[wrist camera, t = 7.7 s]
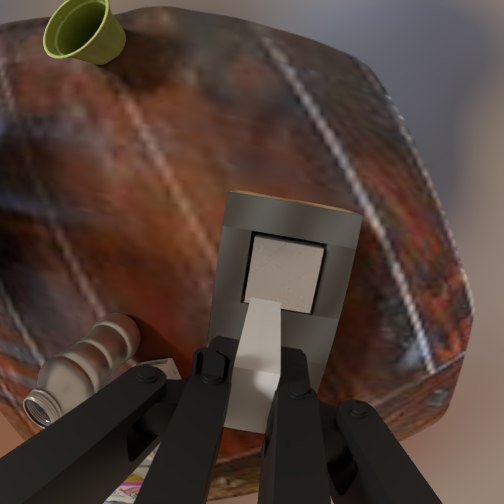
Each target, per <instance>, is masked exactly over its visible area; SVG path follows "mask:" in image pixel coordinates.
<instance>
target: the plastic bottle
mask: <svg viewBox="0 0 504 504" xmlns="http://www.w3.org/2000/svg"><path fill="white" fill-rule="evenodd" d="M140 342H141V335H140V331H139V328H138V326H137V324H136V323H135V322H134V321H133V320H132V319H131V318H130V317H128V316H126V315H124V314H121V313H110V314H108V315H105V316H103V317H101V318H100V319H99V320H98V321H97V322H96V323H95V325H94V326H93V327H92V329H91V330H90V331H89V332H88V333H87V334H86V335H85V336H84V337H83V338H82V340H81V341H79V342H78V343H76V344H75V345H73V346H72V347H71V348H69V349H67V350H65V351H64V352H62V353H60V354H58V355H56V356H54V357H52V358H51V359H49V360H48V361H46V362H45V363H44V364H43V366H42V368H41V369H40V371H39V375H38V388H35V389H33V390H32V391H31V393H30V394H29V395H28V396H27V397H26V398H25V399H24V401H23V407H24V410H25V412H26V414H27V415H28V417H29V418H30V419H31V420H32V421H33V422H34V423H35V424H36V425H38V426H39V427H41V428H43V429H44V428H46V427H47V426H49V425H50V424H52V423H53V422H55V421H56V420H58V419H59V418H61V417H62V416H63V415H65V414H66V413H68V412H69V411H71V410H72V409H74V408H75V407H76V406H78V405H79V404H81V403H82V402H84V401H85V400H87V399H88V398H89V397H91V396H92V395H94V394H95V393H97V392H98V391H99V389H100V387H101V386H102V384H103V383H104V382H105V380H106V379H107V378H108V376H109V375H110V374H111V373H112V372H113V371H114V370H115V369H116V368H117V367H118V366H120V365H121V364H122V363H124V362H125V361H127V360H128V359H130V358H131V357H132V356H133V355H134V354H135V353H136V351H137V349H138V347H139V345H140Z"/></svg>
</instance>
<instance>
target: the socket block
mask: <svg viewBox="0 0 504 504" xmlns="http://www.w3.org/2000/svg"><path fill="white" fill-rule="evenodd" d="M362 218H363V216H362V215H359V214H357V213H354V212H351V211H349V210H346V209H341V208H336V207H331V206H326V205H320V204H315V203H310V202H304V201H299V200H293V199H288V198H282V197H276V196H270V195H264V194H258V193H252V192H246V191H230V192H227V199H226V205H225V212H224V219H223V226H222V233H221V240H220V247H219V254H218V261H217V269H216V276H215V284H214V291H213V299H212V307H211V315H210V323H209V331H208V340H207V347H208V346H209V343H210V341H211V340H212V339H213V338H215V337H217V336H223V337H228V338H233V339H238V340H240V339H241V335H242V331H243V327H244V323H245V319H246V315H247V311H248V307H249V303H247V302H244V301H245V295H246V289H247V282H248V276H249V270H250V264H251V258H252V252H253V245H254V239H255V236H256V232H257V231H258V232H264V233H270V234H275V235H281V236H287V237H292V238H298V239H304V240H309V241H315V242H320V244H321V245H322V247H323V248H324V251H323V256H322V260H321V265H320V270H319V275H318V279H317V284H316V288H315V293H314V297H313V302H312V306H311V310H310V313H305V312H299V311H292V310H286V309H281V346H283V347H290V348H296V349H301V350H302V351H303V352H304V354H305V355H306V357H307V364H308V372H309V379H310V387H311V388H312V389H313V390H315V392H316V394H317V392H318V389H319V386H320V383H321V380H322V377H323V374H324V371H325V367H326V364H327V361H328V357H329V354H330V351H331V347H332V344H333V340H334V337H335V333H336V329H337V326H338V322H339V318H340V315H341V311H342V307H343V303H344V299H345V295H346V291H347V287H348V283H349V279H350V275H351V270H352V266H353V261H354V257H355V252H356V248H357V243H358V238H359V233H360V228H361V223H362ZM266 428H267V427H266Z"/></svg>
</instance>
